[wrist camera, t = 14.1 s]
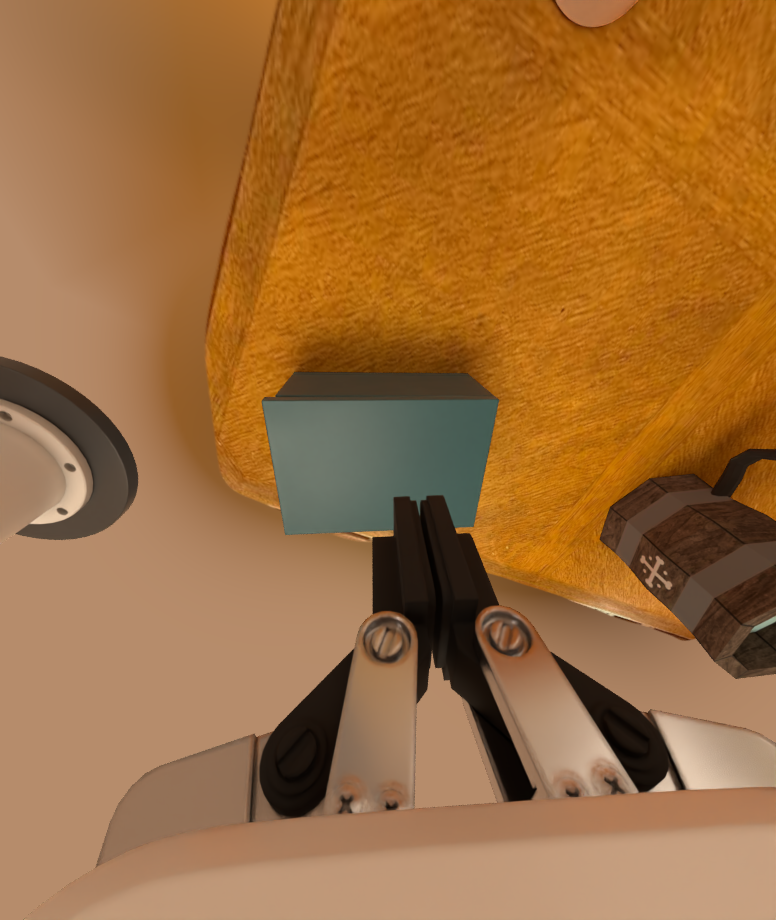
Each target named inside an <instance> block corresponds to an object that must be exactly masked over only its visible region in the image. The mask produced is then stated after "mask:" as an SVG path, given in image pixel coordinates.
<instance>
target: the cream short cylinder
mask: <svg viewBox="0 0 776 920" xmlns="http://www.w3.org/2000/svg"><path fill="white" fill-rule="evenodd" d="M555 1H556V3H557V5H558V6H559V8H560V9H561V11H562V12H563V13H564V14H565V15H566V16H567V17H568V18H569V19H570V20H572V21H573V22H574V23H577V24H579V25H581V26H586V27H599V26H603V25H606V24H609V23H611V22H613V21H615V20H617V19H618V18H620V17H621V16H623V15H624V14H625V13H626V12H628V11H629V10H630V9H631V8H632V7H633V6H634V5H635V4H636V3H637V2H638V1H639V0H555Z"/></svg>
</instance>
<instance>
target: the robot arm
mask: <svg viewBox="0 0 776 920" xmlns="http://www.w3.org/2000/svg"><path fill="white" fill-rule="evenodd" d="M92 492H93V478H92V473H91V470H90V467H89V465H88V463H87V461H86V459H85V457H84V456H83V454H82V453H81V451H80V450H79V448H78V447H77V446H76V445H75V444H74V443H73V442H72V441H71V439H70V438H69V437H68V436H67V435H66V434H64V433H63V432H62V431H61V430H60V429H58V428H57V427H56V426H55V425H53V424H52V423H50V422H49V421H47V420H46V419H44V418H43V417H41V416H40V415H38V414H36V413H34V412H32V411H30V410H28V409H26V408H24V407H22V406H20V405H17V404H14V403H11V402H9V401H6V400H3V399H0V544H1V543H3V542H4V541H6V540H7V539H8V538H10V537H11V536H13V535H14V534H16V533H17V532H18V531H20V530H21V529H23V528H24V527H25V526H27V525H28V524H47V523H54V522H58V521H62V520H65V519H67V518H69V517H70V516H72V515H74V514H75V513H76V512H78V511H79V510H80V509H82V508H83V507H84V506H85V504H86V503H87V502H88V501H89V499H90V497H91V494H92ZM393 517H394V536H391V537H373V542H372V545H373V615H371V616H370V617H369V618H367V619H366V620H365V621H364V622H363V624H362V625H361V626H360V629H359V631H358V634H357V638H356V643H355V648H354V649H353V650H352V651H351V652H350V653H349V654H348V655H347V656H346V657H345V658H344V659H343V660H342V661H341V662H340V663H339V664H338V665H337V666H336V667H335V668H334V669H333V670H332V672H330V673H329V674H328V675H327V676H326V677H325V678H324V680H323V681H321V683H320V684H318V686H317V687H316V688H315V689H314V690H313V691H312V692H311V693H310V694H309V695H308V696H307V697H306V698H305V699H304V700H303V701H302V702H301V703H300V704H299V705H298V706H297V707H296V708H295V709H294V710H293V711H292V712H291V713H290V714H289V715H288V716H287V717H286V718H285V719H284V720H283V721H282V722H281V723H280V724H279V725H278V726H277V728H276V729H275V730H274V731H273V732H270V733H267V734H264V735H261V736H258V737H256V736H255V734H252V735H249V736H246V737H243V738H241V739H237V740H234V741H231V742H228V743H226V744H223V745H220V746H217V747H214V748H211V749H208V750H205V751H202V752H199V753H197V754H193V755H190V756H188V757H185V758H181V759H179V760H176V761H173V762H170V763H167V764H164V765H161V766H159V767H157V768H155V769H153V770H151V771H149V772H147V773H146V774H144V775H143V776H142V777H141V778H140V779H139V780H138V781H137V782H136V783H135V784H134V785H132V786H131V788H130V789H129V790H128V792H127V793H126V794H125V796H124V797H123V798H122V800H121V801H120V802H119V804H118V806H117V808H116V810H115V813H114V815H113V817H112V819H111V821H110V824H109V827H108V830H107V833H106V836H105V840H104V843H103V846H102V849H101V852H100V855H99V858H98V861H97V865H96V868H94V869H93V870H91V871H89V872H88V873H86V874H85V875H83V876H81V877H80V878H78V879H77V880H75V881H73V882H72V883H70V884H68V885H67V886H66V887H64V888H63V889H61V890H60V891H59V892H57V893H56V894H55V895H53V896H52V897H51V898H50V899H48V900H47V901H45V902H44V903H43V904H41V905H40V906H38V907H37V908H36V909H35V910H34V911H33V912H31V913H30V914H29V915H28V916H27V917H26V918H25V919H23V920H776V743H775V742H773V741H772V740H770V739H768V738H767V737H765V736H763V735H762V734H760V733H757V732H754V731H752V730H749V729H746V728H742V727H737V726H731V725H727V724H722V723H716V722H712V721H707V720H702V719H697V718H691V717H686V716H682V715H676V714H672V713H667V712H662V711H657V710H652V709H650V711H649V712H648V713H646V712H641V711H639V710H637V709H636V708H635V707H634V706H632V705H631V704H630V703H628V702H627V701H625V700H624V699H622V698H621V697H619V696H618V695H616V694H615V693H613V692H611V691H610V690H608V689H607V688H605V687H604V686H602V685H601V684H599V683H598V682H596V681H595V680H593V679H592V678H590V677H589V676H587V675H585V674H584V673H582V672H581V671H579V670H578V669H576V668H575V667H573V666H572V665H570V664H569V663H567V662H566V661H564V660H563V659H561V658H559V657H558V656H556V655H555V654H553V653H552V652H550V651H549V650H548V648H547V647H546V645H545V643H544V642H543V640H542V639H541V637H540V635H539V634H538V632H537V631H536V630H535V628H534V626H533V625H532V624H531V622H530V621H529V620H528V619H527V618H526V617H525V616H523V615H522V614H521V613H520V612H518V611H516V610H514V609H512V608H510V607H505V606H501V605H499V603H498V601H497V598H496V596H495V594H494V591H493V588H492V586H491V583H490V581H489V578H488V576H487V573H486V571H485V568H484V566H483V563H482V561H481V558H480V556H479V553H478V551H477V548H476V546H475V543H474V541H473V538H472V536H471V535H470V534H469V533H463V534H457V533H456V530H455V527H454V524H453V521H452V518H451V515H450V512H449V509H448V507H447V504H446V501H445V498H444V496H443V495H430V496H426V500H421V502H420V516H419V511H418V506H417V502H416V500H410V496H403V497H394V498H393ZM432 653H433V658H434V664H435V667H436V668H442V672H443V677H444V680H450V684H451V688H452V689H453V690H454V691H455V692H457V693H458V694H459V695H460V696H461V697H462V701H463V706H464V709H465V711H466V714H467V717H468V720H469V723H470V726H471V729H472V732H473V735H474V737H475V740H476V743H477V746H478V749H479V752H480V754H481V758H482V760H483V763H484V766H485V769H486V772H487V775H488V778H489V780H490V783H491V786H492V789H493V792H494V795H495V798H496V801H497V803H488V804H474V805H459V806H445V807H432V808H418V809H414V800H415V799H414V798H415V754H416V705H417V703H418V702H419V700H420V699H421V698H422V696H423V695H424V693H425V692H426V690H427V687H428V676H429V668H430V664H431V654H432Z"/></svg>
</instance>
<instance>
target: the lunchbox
mask: <svg viewBox="0 0 776 920" xmlns="http://www.w3.org/2000/svg"><path fill="white" fill-rule="evenodd" d="M429 396H494V395H493V394H491V393H490V392H489V391H488V390H487V389H485V388H484V387H483V386H482V385H481V384H479V383H478V382H477V381H476V380H475V379H473V378H472V377H471V376H470V375H469V374H468V373H360V372H294V373H293V375H292V376H291V377H290V378H289V379H288V381H287V382H286V383H285V384H284V386H283V387H282V388H281V389H280V391H279V392H278V393H277V394H276V397H429Z"/></svg>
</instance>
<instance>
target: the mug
mask: <svg viewBox="0 0 776 920" xmlns="http://www.w3.org/2000/svg"><path fill="white" fill-rule="evenodd" d="M761 459H767V460H776V449H748V450H746V451H744V452H742V453H741V454H739V455H737V456H735V457H733V458H731V459H730V461H729V463H728V464H727V466H726V468H725V470H724V472H723V474H722V476H721V477H720V479H719V480H718V482H717V483H716V485H715V486H714V488H712V487H711V486H709V485H708V484H707V483H705V482H704V481H703V480H701V479H700V478H699V477H697V476H696V475H695V474H688V475H678V476H669V477H660V478H651V479H649V480H647V481H646V482H644V483H643V484H642V485H640V486H639V487H638V488H636V489H635V490H633V491H632V492H631V493H629V494H628V495H627V496H625V497H624V498H622V499H621V500H620V501H618V502H617V503H616V504H614V505H613V506H611V507H610V510H609V513H608V516H607V519H606V522H605V525H604V528H603V531H602V534H601V537H600V540H601V541H602V542H603V543H604V544H605V545H607V546H608V547H609V548H610V549H611V550H612V551H614V552H615V553H616V554H617V555H618V556H619V557H620V558H621V559H622V560H623V561H624V562H625V563H626V564H627V566H628V567H629V568H630V569H631V570H632V571H633V573H634V574H635V575H636V576H637V578H638V579H639V580H640V581H641V583H642V584H643V585H644V586H645V587H646V589H647V590H649V591H650V592H651V593H652V594H653V595H654V596H655V597H656V598H657V599H658V600H659V601H661V602H662V603H663V604H664V605H665V606H666V607H667V608H668V609H669V610H670V611H671V612H672V613H673V614H674V615H675V616H676V617H677V618H678V619H679V620H680V621H681V622H682V623H683V624H684V625H685V626H686V627H687V628H688V629H689V631H690V632H691V633H692V634H693V635H694V636H695V638H696V639H697V640H698V642H699V643H700V644H701V645H702V647H703V648H704V649H705V650H706V652H707V653H708V654H709V656H710V657H711V658H712V659H713V661H714V662H716V663H717V664H718V665H719V666H721V667H722V668H723V669H724V670H726V671H727V672H728V673H729V674H731V675H732V676H733V677H734V678H736V679H738V678H746V677H754V676H762V675H770V674H776V521H775V520H773V519H772V518H770V517H769V516H767V515H765V514H763V513H761V512H759V511H757V510H754V509H752V508H750V507H748V506H746V505H743V504H741V503H739V502H737V501H735V500H733V499H731V498H730V497H731V495H732V494H733V492H734V491H735V490H736V488H737V487H738V485H739V484H740V482H741V481H742V479H743V476H744V474H745V472H746V469H747V467H748V466H749V465H751V464H753V463H755V462H757V461H759V460H761Z"/></svg>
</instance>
